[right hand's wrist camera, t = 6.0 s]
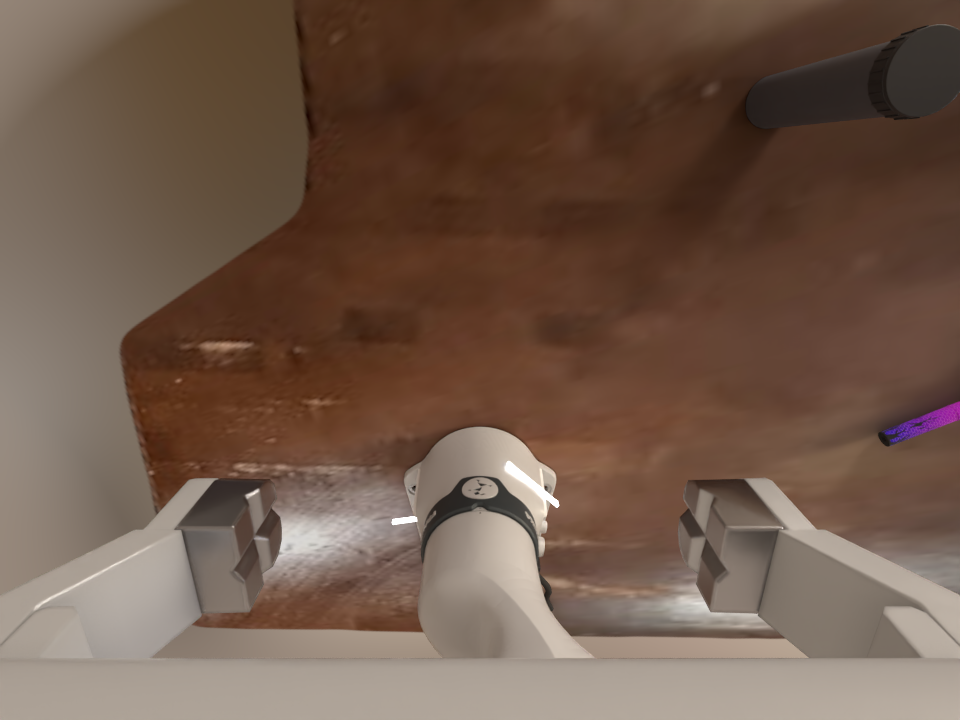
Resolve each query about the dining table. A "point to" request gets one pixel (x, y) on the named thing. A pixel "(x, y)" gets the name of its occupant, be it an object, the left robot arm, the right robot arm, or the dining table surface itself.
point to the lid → (916, 73)
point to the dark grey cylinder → (815, 92)
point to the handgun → (920, 425)
